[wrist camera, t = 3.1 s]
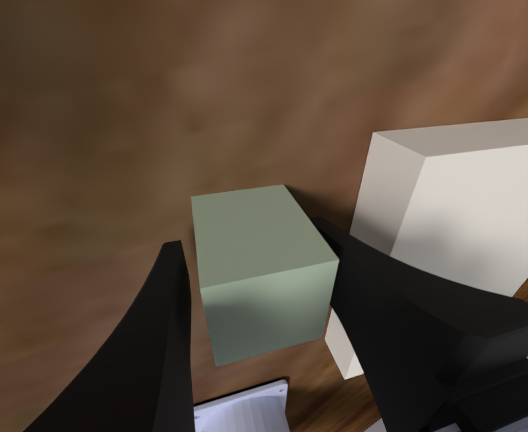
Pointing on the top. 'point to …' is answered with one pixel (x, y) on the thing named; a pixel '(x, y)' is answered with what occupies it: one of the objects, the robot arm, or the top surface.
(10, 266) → the top surface
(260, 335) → the green block
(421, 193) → the base plinth
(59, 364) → the top surface
